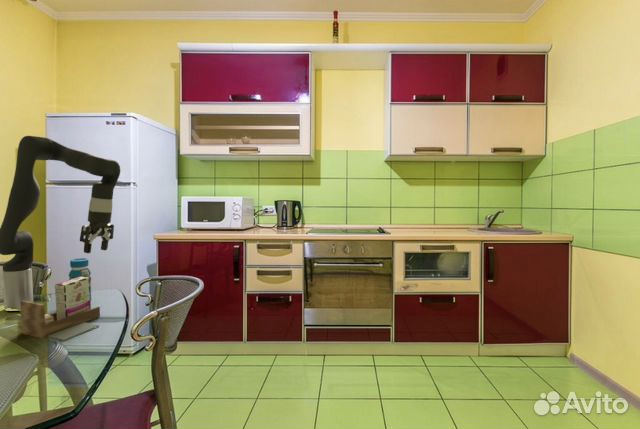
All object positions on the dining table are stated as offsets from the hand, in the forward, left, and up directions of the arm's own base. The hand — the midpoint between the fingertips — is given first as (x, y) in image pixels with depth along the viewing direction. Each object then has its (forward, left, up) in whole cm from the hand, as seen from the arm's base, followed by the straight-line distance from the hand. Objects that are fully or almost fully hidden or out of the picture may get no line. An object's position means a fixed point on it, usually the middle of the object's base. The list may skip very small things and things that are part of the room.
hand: (95, 251), depth 133 cm
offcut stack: (-10, -13, -28) cm, 33 cm away
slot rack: (-10, -6, -28) cm, 31 cm away
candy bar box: (-10, -2, -29) cm, 30 cm away
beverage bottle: (-27, +13, -29) cm, 41 cm away
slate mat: (0, -9, -28) cm, 30 cm away
